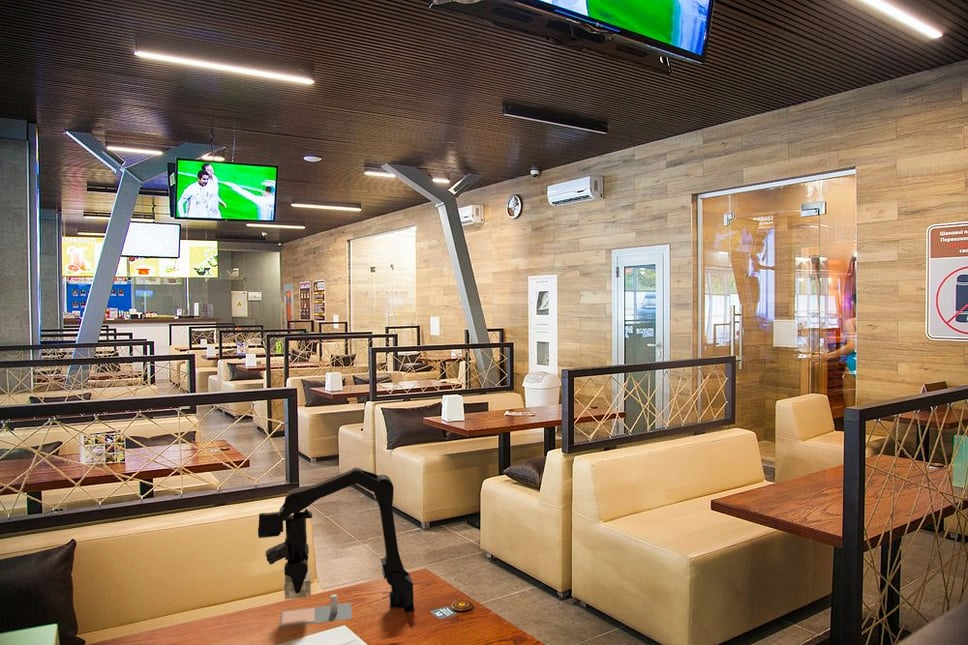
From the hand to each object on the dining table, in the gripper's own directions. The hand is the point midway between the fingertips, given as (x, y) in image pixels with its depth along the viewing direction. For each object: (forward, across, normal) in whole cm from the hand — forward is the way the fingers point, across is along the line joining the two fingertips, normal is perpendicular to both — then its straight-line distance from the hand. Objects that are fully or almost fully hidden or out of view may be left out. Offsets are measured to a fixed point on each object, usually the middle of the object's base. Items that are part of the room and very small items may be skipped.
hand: (298, 588), depth 192 cm
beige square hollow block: (+2, 0, 0) cm, 2 cm away
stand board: (+9, 0, +5) cm, 11 cm away
